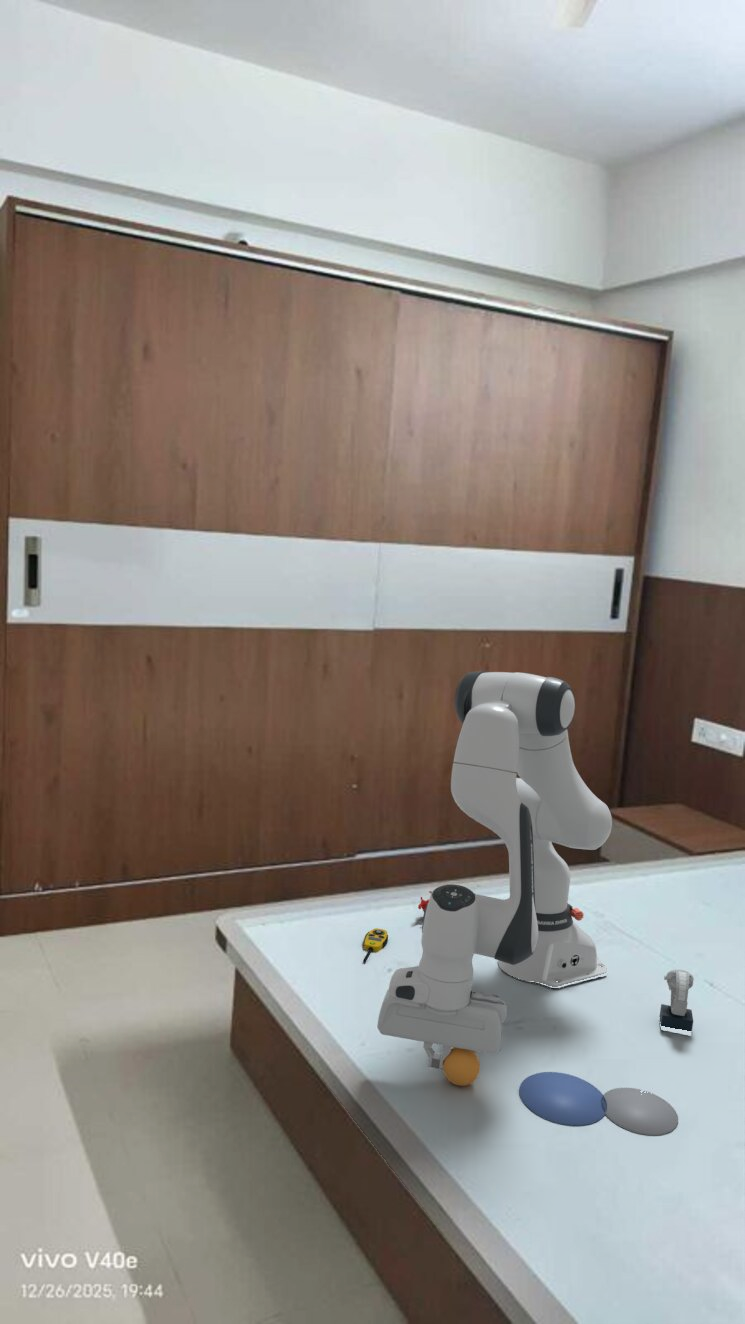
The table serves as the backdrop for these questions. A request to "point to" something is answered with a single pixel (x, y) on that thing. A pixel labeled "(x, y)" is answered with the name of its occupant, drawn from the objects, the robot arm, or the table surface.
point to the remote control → (375, 941)
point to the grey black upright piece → (678, 1001)
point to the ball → (461, 1066)
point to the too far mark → (639, 1111)
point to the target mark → (562, 1098)
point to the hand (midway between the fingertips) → (435, 1066)
